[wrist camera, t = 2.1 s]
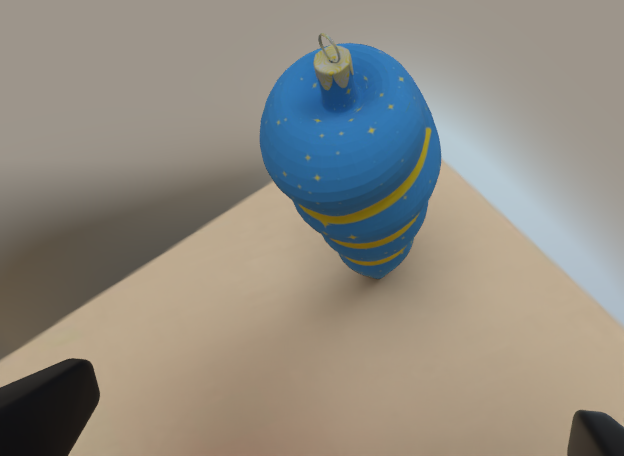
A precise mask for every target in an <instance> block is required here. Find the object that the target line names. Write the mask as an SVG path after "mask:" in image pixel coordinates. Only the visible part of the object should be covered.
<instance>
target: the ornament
mask: <svg viewBox="0 0 624 456" xmlns="http://www.w3.org/2000/svg"><path fill="white" fill-rule="evenodd" d="M321 35H322V36H324V37H326V38H327V39H328V40H329V41H330V42H331V44H332V45H330V46H326V47H323V45H322V41H321ZM319 44H320V46H321V48H320V49H317V50H315V51H313V52H311V53H309V54H307V55H305V56H303V57H302V58H300V59H299V60H297V61H296V62H295V63H294V64H292V65H291V66H290V67H289V68H288V69H287V70H286V71H285V72H284V73H283V74H282V75H281V77H280V78H279V79H278V80H277V82H276V84H275V85H274V87H273V89H272V91H271V92H270V94H269V96H268V98H267V101H266V104H265V108H264V111H263V114H262V118H261V126H260V147H261V152H262V157H263V161H264V164H265V167H266V169H267V171H268V173H269V175H270V176H271V178H272V179H273V181H274V182H275V184H276V185H277V186H278V188H279V189H280V190H281V191H282V192H283V193H285V194H286V195H287V196H288V197H289V198H291V199H292V200H293V202H294V205H295V207H296V209H297V211H298V213H299V214H300V215H301V217H302V218H303V219H304V221H305V222H306V223H308V224H309V225H310V226H311V227H312V228H313V229H315V230H316V231H317V232H319V233H321V234H322V236H323V237H324V239H325V241H326V242H327V243H328V244H329V245H330V246H331V247H332V248H333V249H334V250H335V251H337V252H338V253H339V255H340V257H341V259H342V260H343V262H344V263H345V264H346V265H347V266H348V267H350V268H351V269H352V270H354V271H355V272H357V273H359V274H362V275H365V276H368V277H372V278H375V279H381V278H383V277H384V276H385V275H386V274H388V273H389V272H391V271H392V270H393V269H395V268H396V267H397V266H398V265H399V264H400V263H401V262H402V261H403V260H404V258H405V257H406V256H407V255H408V253H409V251H410V249H411V247H412V244H413V240H414V237H415V235H416V234H417V232H418V231H419V229H420V228H421V226H422V224H423V221H424V219H425V216H426V212H427V207H428V200H429V198H430V196H431V194H432V192H433V190H434V188H435V185H436V182H437V179H438V176H439V172H440V166H441V148H440V141H439V136H438V133H437V130H436V126H435V124H434V120H433V117H432V115H431V112H430V110H429V108H428V106H427V103H426V101H425V99H424V97H423V95H422V93H421V92H420V90H419V88H418V87H417V85H416V83H415V82H414V80H413V78H412V77H411V76H410V75H409V73H408V72H407V71H406V70H405V68H404V67H403V66H402V65H401V64H400V63H399V62H398V61H396V60H395V59H394V58H393V57H391V56H390V55H388V54H386V53H385V52H383V51H381V50H378V49H376V48H374V47H371V46H367V45H362V44H353V43H346V44H335V43H334V41H333V40H332V39H331V38H330V37H329V36H328V35H326V34H323V33H321V34H320V35H319Z"/></svg>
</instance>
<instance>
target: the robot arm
mask: <svg viewBox="0 0 624 456" xmlns="http://www.w3.org/2000/svg"><path fill="white" fill-rule="evenodd" d="M99 398H100V391H99V387H98V383H97V380H96V376H95V372H94V369H93V366H92V364H91V363H90V361H88V360H84V359H74V358H72V359H67V360H64V361H62V362H60V363H57V364H55V365H53V366H50V367H48V368H46V369H43V370H41V371H38V372H36V373H34V374H31V375H29V376H27V377H24V378H22V379H20V380H17V381H15V382H13V383H10V384H8V385H6V386H3V387H1V388H0V456H68V455H69V453H70V451H71V449H72V448H73V446H74V444H75V443H76V441H77V439H78V437H79V436H80V434H81V432H82V430H83V429H84V427H85V425H86V424H87V422H88V420H89V418H90V417H91V415H92V413H93V412H94V410H95V408H96V406H97V404H98V402H99ZM567 455H568V456H624V427H623V426H621V425H620V424H619V423H618V422H617V421H615V420H614V419H613V418H612V417H610V416H609V415H607V414H606V413H603V412H596V411H586V410H579V411H577V412H576V413H575V414H574V417H573V421H572V427H571V433H570V438H569V444H568V451H567Z"/></svg>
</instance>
